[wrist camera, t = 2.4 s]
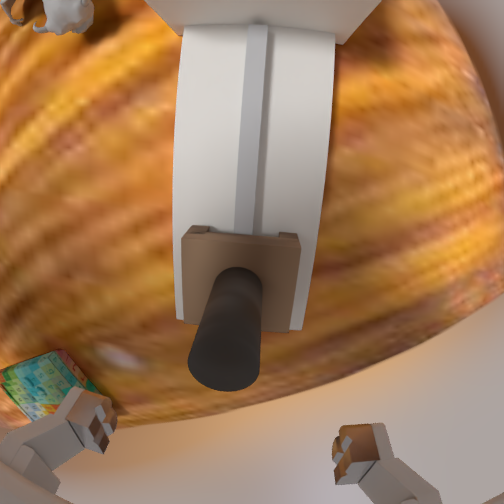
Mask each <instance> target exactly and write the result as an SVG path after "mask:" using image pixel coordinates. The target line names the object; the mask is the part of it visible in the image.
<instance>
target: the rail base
mask: <svg viewBox="0 0 504 504" xmlns="http://www.w3.org/2000/svg"><path fill="white" fill-rule="evenodd" d="M144 1H145V2H146V3H147V4H148V5H149V6H150V7H151V8H152V9H153V10H154V11H155V12H156V13H157V14H158V15H159V16H160V17H161V18H162V19H163V20H164V21H165V22H166V23H167V24H168V25H169V26H170V27H171V28H172V29H173V31H174V32H175V33H176V34H177V35H178V36H180V35H183V40H182V48H181V57H180V67H179V77H178V88H177V101H176V115H175V132H174V156H173V262H174V285H175V303H176V318H177V319H181V320H184V316H183V295H182V266H181V238H182V236H183V235H184V234H185V233H186V232H187V230H188V229H189V228H190V227H191V226H192V225H199V226H210V228H209V232H218V233H231V234H244V235H256V236H268V237H278V236H279V232H288V233H297V235H298V238H299V242H300V245H301V255H300V263H299V270H298V276H297V283H296V290H295V296H294V303H293V309H292V315H291V322H290V328H289V330H302V326H303V321H304V316H305V310H306V305H307V299H308V294H309V288H310V282H311V276H312V270H313V264H314V257H315V251H316V244H317V237H318V230H319V223H320V216H321V208H322V200H323V192H324V184H325V175H326V166H327V156H328V146H329V135H330V123H331V111H332V96H333V80H334V59H335V43H336V44H341V45H343V44H344V43H345V42H346V41H347V39H348V38H349V37H350V36H351V35H352V34H353V32H354V31H355V30H356V29H357V28H358V27H359V26H360V24H361V23H362V22H363V21H364V20H365V19H366V18H367V16H368V15H369V14H370V13H371V12H372V11H373V10H374V9H375V7H376V6H377V5H378V4H379V3H380V2H381V1H382V0H144Z"/></svg>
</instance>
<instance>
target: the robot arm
mask: <svg viewBox="0 0 504 504" xmlns="http://www.w3.org/2000/svg"><path fill="white" fill-rule="evenodd" d="M111 405H112V401H111V399H110V398H109V397H106V396H102V395H99V394H96V393H93V392H90V391H87V390H85V389H82V388H79V387H76V386H74V387H73V388H71V389H70V391H69V392H68V394H67V395H66V397H65V398H64V400H63V401H62V403H61V404H60V406H59V407H58V409H57V410H56V412H55V413H54V415H53V414H49V415H46V416H44V417H42V418H40V419H38V420H36V421H33V422H31V423H29V424H27V425H25V426H22V427H20V428H18V429H16V430H13V431H11V432H9V433H7V435H6V436H5V438H4V439H3V441H2V442H1V444H0V504H73V503H71V502H69V501H67V500H64V499H63V498H61V497H59V496H57V495H55V493H56V491H57V489H58V487H59V485H60V480H59V478H58V477H57V476H56V475H55V474H54V473H53V472H52V471H53V470H54V469H56V468H57V467H59V466H60V465H62V464H63V463H65V462H66V461H68V460H69V459H71V458H72V457H74V456H75V455H76V454H78V453H80V452H81V451H82V450H84V448H87V449H89V450H92V451H95V452H98V453H101V454H104V452H105V450H106V448H107V446H108V444H109V438H108V436H109V435H111V434H112V433H114V431H115V429H116V425H117V414H116V411H115V410H114V409H113V408H112V407H111ZM332 460H333V461H334V462H335V463H336V464H337V466H336V468H335V469H334V476H335V484H336V485H345V484H357V483H358V485H359V487H360V488H361V489H362V490H363V491H364V492H365V494H366V495H367V496H368V497H369V498H370V499H371V501H372V502H373V503H374V504H442V501H441V498H440V494H439V491H438V490H437V489H436V488H434V487H433V486H432V485H431V484H429V483H428V482H427V481H426V480H424V479H423V478H422V477H421V476H419V475H418V474H417V473H416V472H415V471H413V470H412V469H411V468H410V467H409V466H407V465H406V464H405V463H404V462H403V461H401V460H400V459H399V458H394V455H393V451H392V447H391V444H390V441H389V437H388V434H387V431H386V428H385V425H384V424H383V423H373V424H358V425H343V426H342V427H341V428H340V430H339V436H338V437H336V438H335V440H334V442H333V446H332ZM482 504H504V492H503V493H502V494H500V495H498V496H496V497H494V498H492V499H490V500H488V501H487V502H484V503H482Z"/></svg>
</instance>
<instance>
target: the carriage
mask: <svg viewBox="0 0 504 504" xmlns="http://www.w3.org/2000/svg"><path fill="white" fill-rule="evenodd" d="M209 228H210V226H199V225H192V226H191V227H190V228H189V229H188V230H187V232H186V233H185V234H184V235H183V236H182V238H181V266H182V295H183V316H184V323H185V324H194V325H199V327H198V330H197V333H196V336H195V339H194V342H193V345H192V348H191V351H190V354H189V357H188V367H189V370H190V372H191V374H192V375H193V377H194V378H195V379H196V380H197V381H199V382H200V383H201V384H203V385H205V386H206V387H209V388H211V389H214V390H218V391H227V392H228V391H238V390H241V389H244V388H246V387H248V386H250V385H251V384H252V383H254V381H255V380H256V379H257V377H258V375H259V368H260V343H261V331H266V332H280V333H289V328H290V322H291V315H292V309H293V303H294V296H295V290H296V283H297V276H298V270H299V263H300V255H301V245H300V242H299V238H298V235H297V233H288V232H279V236H278V237H268V236H256V235H244V234H231V233H218V232H209Z"/></svg>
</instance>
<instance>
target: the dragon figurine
mask: <svg viewBox="0 0 504 504" xmlns="http://www.w3.org/2000/svg"><path fill="white" fill-rule="evenodd" d="M42 1H43V4H44V10H45V13H46V15H47V22H46V24H45V27H41V28H38V27H36V26H35V24H36V23H35V24H34V25H33V29H34V31H35V32H38V33H47V32H54V33H55V34H56V35H63V34H65V33H67V32H69V31H71V30H72V33H78V34H79V33H84V32H85V31H86V30H87V29H88V28H89V27H90V26H91V25H92V24H93V14H94V5H93V3H92V1H91V0H42ZM14 3H15V0H1V2H0V4H1V6H2V8H3V10H4V11H5V12H6V14H7V15H8V16H9V18H10V21H11V23H12V24H16V25H18V26H22V23H20V21H23V20H24V19H23V18H21V19H20V20H19V19H18V20H16V19H13V18H12V15H11V7H12V6H13V4H14Z"/></svg>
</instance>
